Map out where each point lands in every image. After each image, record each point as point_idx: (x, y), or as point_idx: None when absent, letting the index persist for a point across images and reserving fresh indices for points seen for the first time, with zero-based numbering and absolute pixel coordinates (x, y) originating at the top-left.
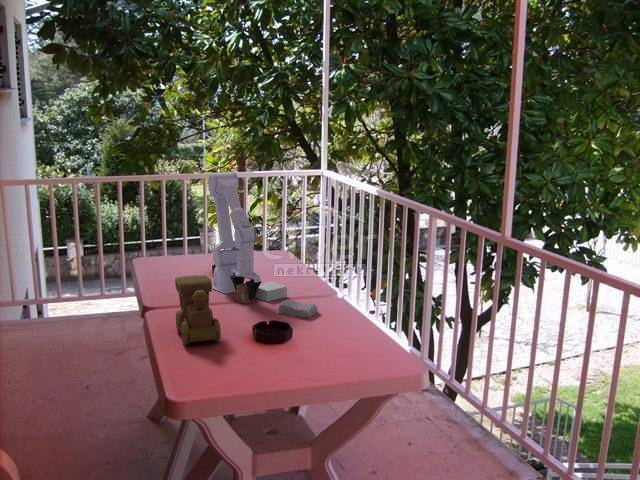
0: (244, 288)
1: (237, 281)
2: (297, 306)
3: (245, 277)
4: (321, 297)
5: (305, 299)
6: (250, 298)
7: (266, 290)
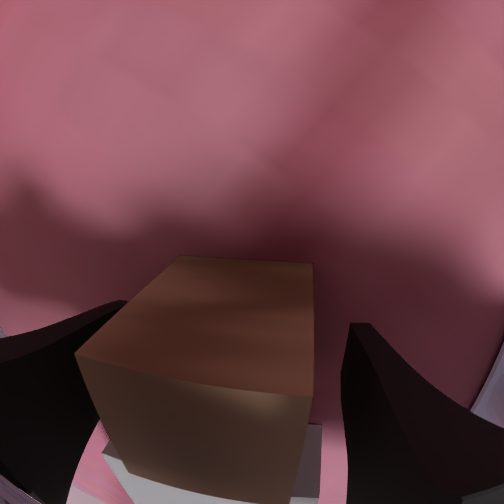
0: (84, 351)
1: (382, 473)
2: None
3: None
4: (112, 496)
5: (108, 474)
6: (104, 309)
7: (117, 460)
